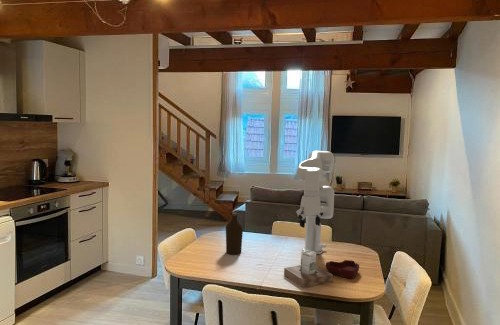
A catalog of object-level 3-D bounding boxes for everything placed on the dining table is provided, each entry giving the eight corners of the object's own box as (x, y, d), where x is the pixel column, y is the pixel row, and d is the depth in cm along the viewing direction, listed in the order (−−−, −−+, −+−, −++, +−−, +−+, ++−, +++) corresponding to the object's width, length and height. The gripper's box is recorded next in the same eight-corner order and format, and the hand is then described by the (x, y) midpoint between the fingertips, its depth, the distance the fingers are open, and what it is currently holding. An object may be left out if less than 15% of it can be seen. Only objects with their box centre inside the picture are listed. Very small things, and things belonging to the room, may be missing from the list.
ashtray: (337, 281, 202) (337, 272, 202) (323, 270, 218) (323, 261, 218) (367, 278, 207) (368, 269, 207) (351, 267, 223) (351, 259, 223)
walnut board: (311, 270, 217) (311, 263, 216) (332, 282, 201) (332, 274, 201) (284, 275, 209) (284, 267, 208) (303, 288, 193) (303, 280, 192)
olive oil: (232, 256, 236) (232, 215, 233) (221, 251, 244) (222, 212, 241) (245, 253, 242) (246, 213, 240) (235, 248, 251) (236, 210, 248)
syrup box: (306, 275, 209) (307, 249, 207) (315, 278, 205) (316, 251, 203) (299, 278, 205) (300, 251, 203) (309, 281, 201) (310, 254, 199)
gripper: (320, 191, 208) (318, 222, 209) (293, 193, 200) (291, 225, 201) (329, 193, 201) (327, 226, 203) (301, 195, 193) (300, 229, 195)
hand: (309, 225), depth 202 cm, fingers open, 9 cm apart
